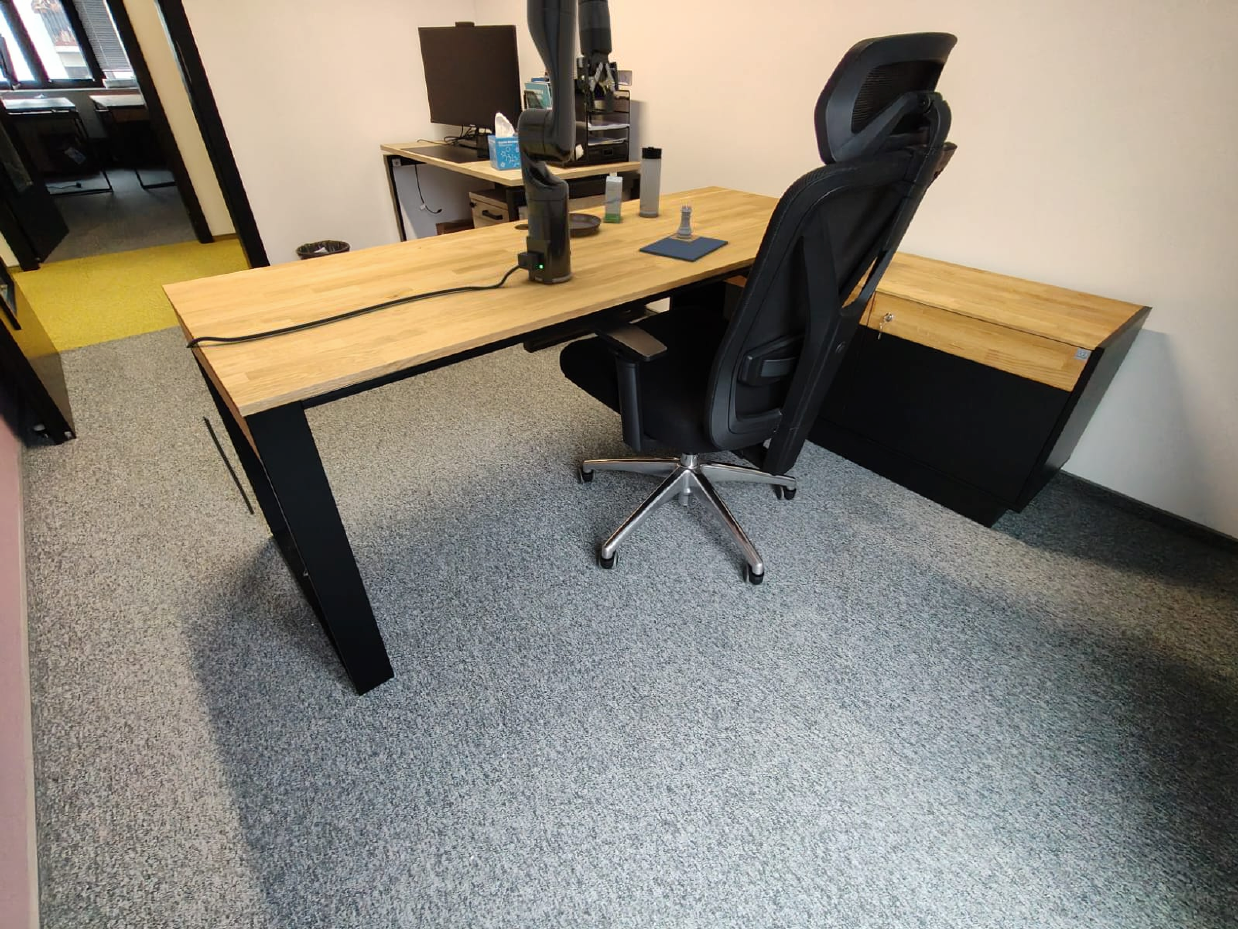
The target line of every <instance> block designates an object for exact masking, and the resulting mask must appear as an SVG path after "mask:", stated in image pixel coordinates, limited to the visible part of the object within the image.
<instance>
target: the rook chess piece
mask: <svg viewBox="0 0 1238 929" xmlns="http://www.w3.org/2000/svg"><path fill="white" fill-rule="evenodd" d="M680 212H681V215H680V217H681V219H680V220H681V221H680V225H679V226H678V229H677V230H676V233H678V234H677V237H678V238H681V239H689V238H691V237H692V235H693V230H692V228H691V217H692V215H691V214H692V212H693V209H692V206H689V205H682V206H681V209H680Z"/></svg>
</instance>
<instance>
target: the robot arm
mask: <svg viewBox="0 0 1238 929" xmlns="http://www.w3.org/2000/svg"><path fill="white" fill-rule="evenodd" d="M526 24H527V28H528V31H529V35H530V38H531V41H532V43H533V45H534V47H535V49H536V51H537V53H538V55H539V57H540V59H541V61H542V63H543V66H544V68H545V71H546V73H547V77H548V80H549V84H550V85H549V86H550V91H551V93H550V94H551V108H549V109H547V108H526V109H524V110H522V112H521V113H520V115H519V118H518V122H517V130H516V131H517V133H516V134H517V147H518V154H519V164H520V171H521V180H522V184H523V187H524V191H525V202H526V216H527V217H526V218H527V231H528V235H526V236H525V245H526V251H523V252H522V251H521V252H519V253H517V254H516V255H517V265H515V266H514V267H512V268H511V269H509V270H508V272H506V273H505V274H504V276H503V278H502V279H501V281H500V282H498V283H496V284H493V285H490V286H472V285H471V286H461V287H454V288H448V289H447V288H446V289H442V290H436V291H430V292H426V293H425V292H424V293H420V294H416V295H415V294H414V295H411V296H406V297H402V298H398V299H395V300H390V301H386V302H382V303H379V304H375V305H371V306H367V307H364V308H359V309H356V310H351V311H348V312H345V313H341V314H338V315H333V316H330V317H326V318H322V319H317V320H313V321H309V322H306V323H302V324H297V325H292V326H288V327H284V328H278V329H274V330H269V331H264V332H259V333H254V334H253V333H252V334H248V335H242V336H235V337H219V336H199V337H196V338H194V339H192V340H191V341H190V342H189V343H188V344H187V345H186V347H185V349H192V348H194V346H196V345H197V344H198V343H201V342H218V343H219V342H220V343H235V342H243V341H249V340H254V339H260V338H264V337H269V336H275V335H279V334H283V333H288V332H292V331H297V330H302V329H306V328H309V327H314V326H318V325H322V324H326V323H329V322H333V321H337V320H341V319H344V318H345V319H346V318H348V317H351V316H355V315H360V314H363V313H366V312H371V311H374V310H377V309H380V308H385V307H389V306H392V305H396V304H401V303H405V302H410V301H413V300H418V299H422V298H428V297H432V296H437V295H442V294H443V295H444V294H449V293H456V292H461V291H482V290H483V291H484V290H485V291H486V290H494V289H498V288H500V287H502V285H504V284H505V283H506V281H507V279H508V278H509V277H510V275H512V274H513V273H514V272H515V271H518V270H519V269H522V270H526V271H527V272H528V273H527V274H528V280H530V281H534V282H539V283H542V284H547V285H552V284H559V283H564V282H567V281H569V280H571V279H572V277H573V274H572V260H571V256H572V250H571V236H570V219H569V213H570V191H569V190H570V189H569V184H568V183H567V181H566V180H564V179H562V178H561V177H559V176H557V175H555V173H553V172H552V171H551V170H550V169H549V167H548V165H547V163H557V164H566V163H568V162H569V161H570V160H571V159H572V157H573V155H574V152H575V147H576V101H575V100H576V98H575V62H576V81H577V88H578V89H579V90H580V89H581V90H582V93H584V102H585V103H584V104H585V110H586V111H587V112H592V111H593V112H594V111H595V110H596V100H595V91H594V89H595V87H596V84H599V86H600V87H601V88H602V89H603V92H604V106H605V112H606V113H613V112H614V111H615V93H616V92H618V91H620V86H619V85H620V84H619V74H618V73H619V72H618V63H617V61H610V59H609V55H610V54H611V53H612V52H613V41H612V24H611V14H610V7H609V0H526ZM577 26H578V39H579V49H580V55H582V56H579V57H576V59H575V52H576V51H575V49H576V31H577ZM546 162H547V163H546ZM202 419H203V421H204V423H205V426H206V428H207V430H208V432H209V434H210V437H211V439H212V440H213V442H214V445H215V447H216V448H217V451H218V453H219V454H220V457H221V459H222V460H223V462H224V464H225V466H226V468H227V470H228V471H229V474H230V475H231V477H232V479H233V481H234V483H235V485H236V487H237V489H238V491H239V493H240V495H241V496H242V498H243V501H244V503H245V505H246V508H247V509H248V512H249V514H250V515H251V516H252V515H255V511H254V508H253V507H252V504H251V502H250V500H249V498H248V496H247V494H246V492H245V490H244V488H243V486H242V484H241V482H240V480H239V478H238V476H237V474H236V472H235V471H234V468H233V467H232V465H231V463H230V461H229V459H228V456H227V455H226V453H225V451H224V449H223V448H222V445H221V444H220V441H219V439H218V437H217V435H216V434H215V431H214V429H213V426H212V424H211V422H210V420H209V418H207V417H205V416H202Z"/></svg>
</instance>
